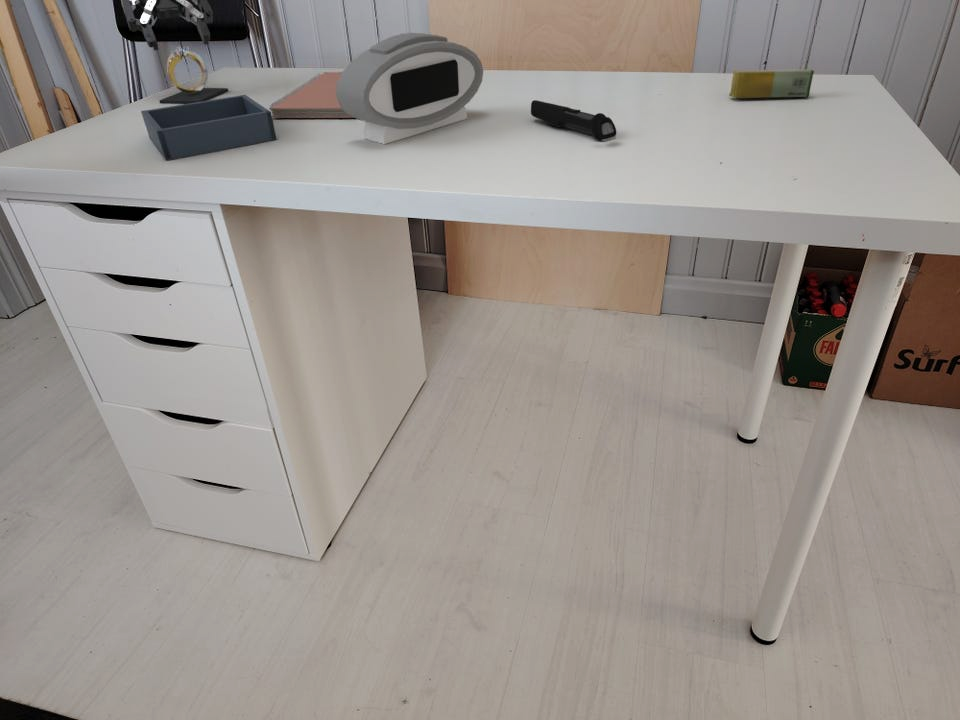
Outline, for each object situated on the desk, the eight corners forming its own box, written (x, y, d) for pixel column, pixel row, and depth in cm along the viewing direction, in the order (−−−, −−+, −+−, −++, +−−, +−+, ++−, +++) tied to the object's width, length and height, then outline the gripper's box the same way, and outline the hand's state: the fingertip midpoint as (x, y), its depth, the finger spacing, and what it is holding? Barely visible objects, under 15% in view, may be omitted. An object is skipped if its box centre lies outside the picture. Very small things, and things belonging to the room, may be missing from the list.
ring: (178, 98, 117) (164, 50, 113) (171, 96, 119) (158, 48, 115) (215, 91, 121) (203, 44, 116) (208, 89, 123) (196, 43, 119)
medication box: (802, 95, 105) (808, 68, 103) (809, 97, 103) (815, 70, 101) (728, 96, 106) (732, 69, 104) (733, 98, 103) (738, 70, 101)
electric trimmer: (543, 117, 101) (543, 96, 99) (618, 137, 90) (620, 113, 88) (524, 122, 99) (524, 100, 97) (599, 142, 88) (600, 118, 87)
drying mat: (198, 104, 116) (197, 101, 115) (159, 103, 117) (159, 100, 117) (228, 90, 124) (227, 88, 123) (191, 90, 125) (191, 87, 125)
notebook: (320, 81, 127) (318, 70, 126) (404, 80, 125) (403, 69, 124) (265, 119, 105) (262, 106, 104) (365, 119, 103) (364, 106, 102)
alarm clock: (369, 151, 89) (356, 50, 82) (343, 143, 93) (328, 45, 85) (485, 115, 102) (482, 25, 95) (458, 109, 106) (453, 22, 99)
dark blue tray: (166, 160, 89) (156, 131, 87) (149, 138, 98) (140, 111, 96) (276, 139, 95) (270, 111, 93) (251, 120, 105) (245, 94, 103)
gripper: (102, -49, 109) (135, 34, 108) (189, -54, 115) (222, 24, 114) (110, -15, 116) (141, 63, 115) (192, -21, 122) (222, 53, 121)
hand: (181, 44), depth 114 cm, fingers open, 8 cm apart
